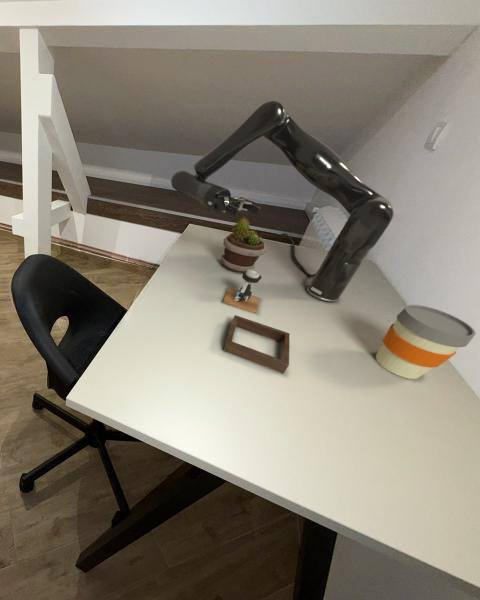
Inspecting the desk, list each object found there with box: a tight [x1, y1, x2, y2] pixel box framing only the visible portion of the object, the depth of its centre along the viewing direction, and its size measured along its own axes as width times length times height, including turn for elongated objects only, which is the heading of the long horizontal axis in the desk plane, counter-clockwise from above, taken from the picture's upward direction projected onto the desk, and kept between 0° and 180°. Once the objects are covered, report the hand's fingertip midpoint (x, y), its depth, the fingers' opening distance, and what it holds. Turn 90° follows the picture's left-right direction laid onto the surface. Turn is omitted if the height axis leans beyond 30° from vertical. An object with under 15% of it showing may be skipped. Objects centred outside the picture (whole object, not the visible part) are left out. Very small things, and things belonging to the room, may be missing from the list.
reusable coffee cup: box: [375, 304, 476, 380], centre depth 76 cm, size 13×13×15 cm
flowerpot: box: [220, 217, 267, 274], centre depth 115 cm, size 14×15×20 cm
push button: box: [235, 269, 263, 302], centre depth 98 cm, size 7×5×10 cm
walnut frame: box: [223, 314, 290, 374], centre depth 82 cm, size 14×14×3 cm
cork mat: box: [222, 287, 260, 314], centre depth 101 cm, size 10×10×1 cm
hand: (247, 211), depth 94 cm, fingers open, 8 cm apart
